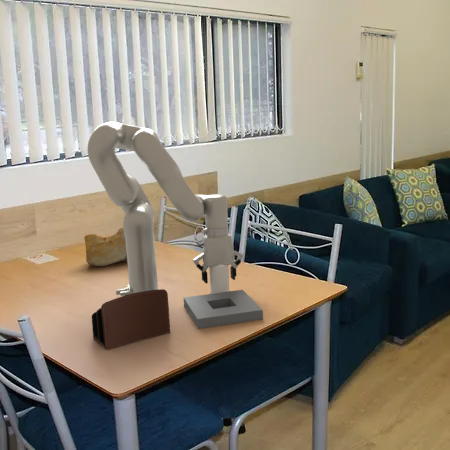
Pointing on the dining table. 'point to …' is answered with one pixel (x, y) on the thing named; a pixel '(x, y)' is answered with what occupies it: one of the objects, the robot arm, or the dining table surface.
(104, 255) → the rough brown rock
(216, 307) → the socket block
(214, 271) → the can
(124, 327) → the letter holder
